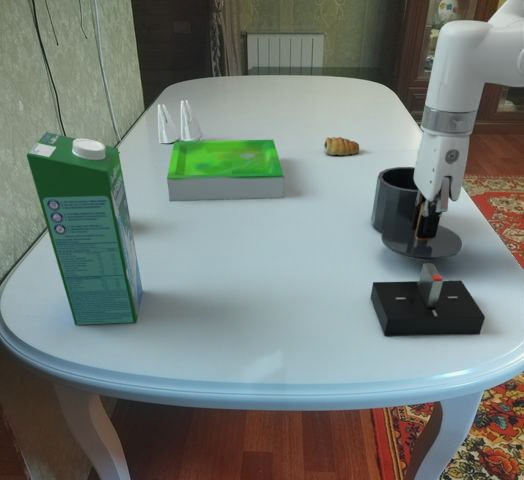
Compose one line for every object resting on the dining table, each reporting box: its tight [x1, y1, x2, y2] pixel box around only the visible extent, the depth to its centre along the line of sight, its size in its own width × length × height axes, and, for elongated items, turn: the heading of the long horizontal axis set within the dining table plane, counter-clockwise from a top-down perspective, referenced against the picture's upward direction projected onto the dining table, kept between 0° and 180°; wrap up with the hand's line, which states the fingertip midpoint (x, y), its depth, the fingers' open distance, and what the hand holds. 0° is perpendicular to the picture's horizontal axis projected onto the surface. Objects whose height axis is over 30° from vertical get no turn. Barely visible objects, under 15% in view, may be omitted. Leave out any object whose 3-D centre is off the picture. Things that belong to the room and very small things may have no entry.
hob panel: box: [370, 279, 486, 337], centre depth 76 cm, size 14×10×3 cm
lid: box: [380, 202, 463, 261], centre depth 86 cm, size 14×14×7 cm
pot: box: [370, 166, 438, 235], centre depth 98 cm, size 13×13×10 cm
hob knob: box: [418, 262, 444, 308], centre depth 74 cm, size 5×1×5 cm, turn 2°
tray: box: [166, 139, 285, 202], centre depth 120 cm, size 25×25×5 cm
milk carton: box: [26, 131, 143, 326], centre depth 71 cm, size 9×9×25 cm
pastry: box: [323, 136, 360, 156], centre depth 135 cm, size 9×7×4 cm
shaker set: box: [157, 99, 204, 145], centre depth 139 cm, size 12×4×11 cm, turn 81°
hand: (422, 232), depth 87 cm, fingers closed on lid, 2 cm apart
